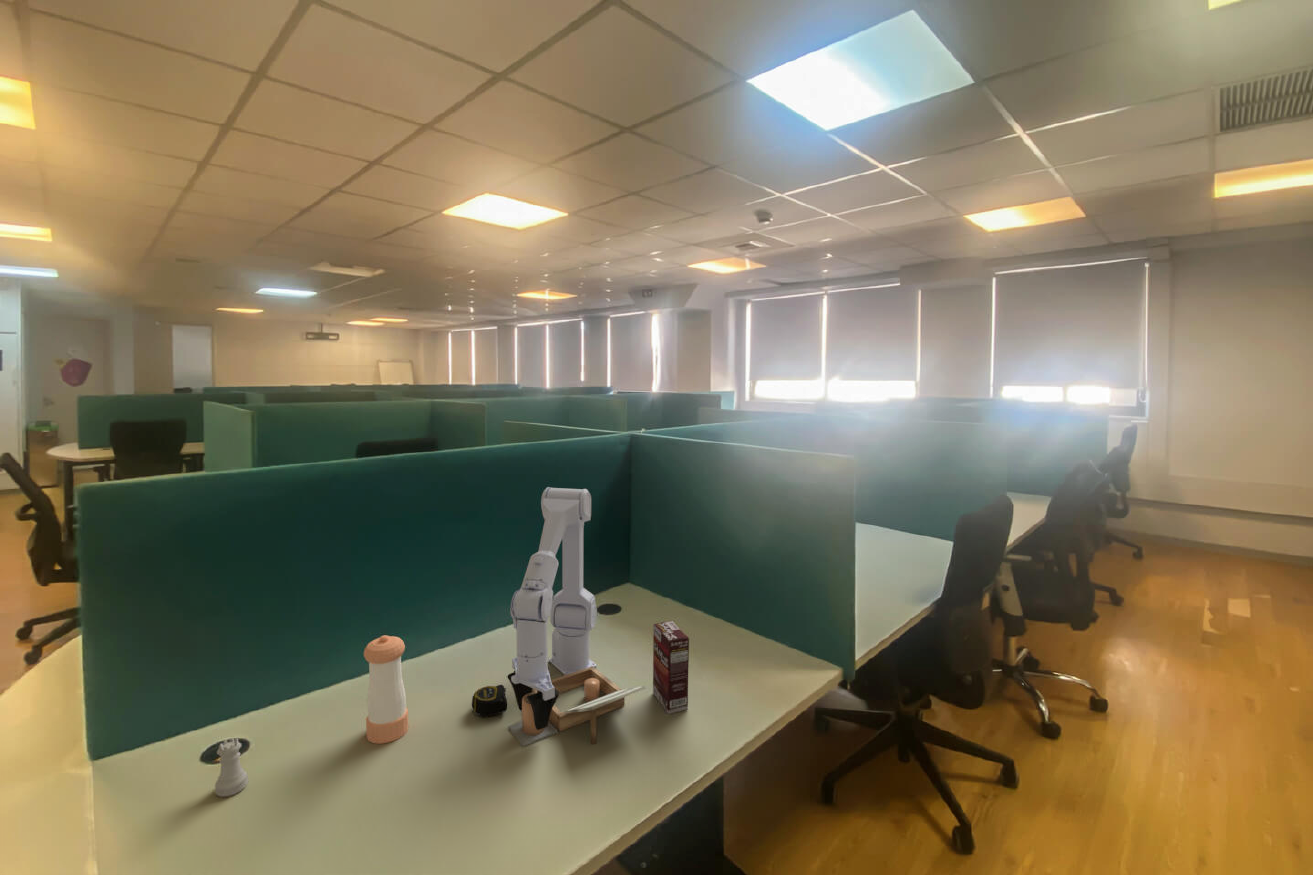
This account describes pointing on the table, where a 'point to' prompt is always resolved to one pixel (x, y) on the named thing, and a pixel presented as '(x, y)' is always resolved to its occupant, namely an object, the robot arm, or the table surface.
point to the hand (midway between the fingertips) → (532, 717)
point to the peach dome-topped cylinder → (528, 718)
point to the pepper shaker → (386, 690)
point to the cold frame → (589, 709)
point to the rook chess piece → (230, 770)
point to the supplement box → (670, 666)
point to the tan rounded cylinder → (591, 689)
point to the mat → (530, 739)
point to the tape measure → (489, 700)
